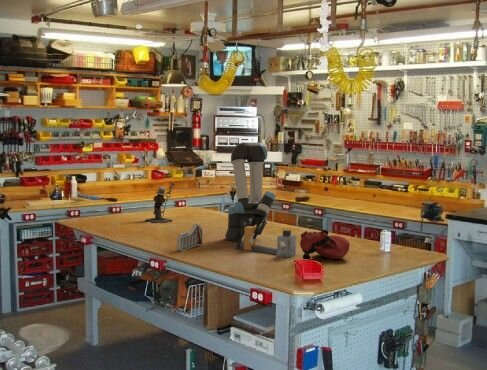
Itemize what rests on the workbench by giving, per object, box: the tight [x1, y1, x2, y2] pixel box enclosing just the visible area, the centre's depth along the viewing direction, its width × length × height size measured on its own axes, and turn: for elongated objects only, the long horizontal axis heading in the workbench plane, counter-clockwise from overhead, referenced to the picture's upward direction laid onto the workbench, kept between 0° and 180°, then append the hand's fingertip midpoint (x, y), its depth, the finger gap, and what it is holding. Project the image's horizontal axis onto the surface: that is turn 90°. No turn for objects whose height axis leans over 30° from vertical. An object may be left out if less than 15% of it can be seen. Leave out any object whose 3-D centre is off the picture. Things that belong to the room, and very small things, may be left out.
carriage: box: [243, 226, 257, 251], centre depth 376 cm, size 5×6×14 cm
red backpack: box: [299, 227, 351, 260], centre depth 355 cm, size 24×20×30 cm
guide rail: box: [234, 241, 277, 256], centre depth 373 cm, size 31×5×4 cm, turn 56°
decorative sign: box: [176, 223, 204, 252], centre depth 377 cm, size 23×3×15 cm, turn 149°
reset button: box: [282, 229, 292, 237], centre depth 361 cm, size 3×3×6 cm
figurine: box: [144, 182, 176, 224], centre depth 475 cm, size 23×23×30 cm
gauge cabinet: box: [276, 233, 297, 259], centre depth 362 cm, size 7×10×12 cm
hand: (246, 242), depth 373 cm, fingers closed on carriage, 5 cm apart
